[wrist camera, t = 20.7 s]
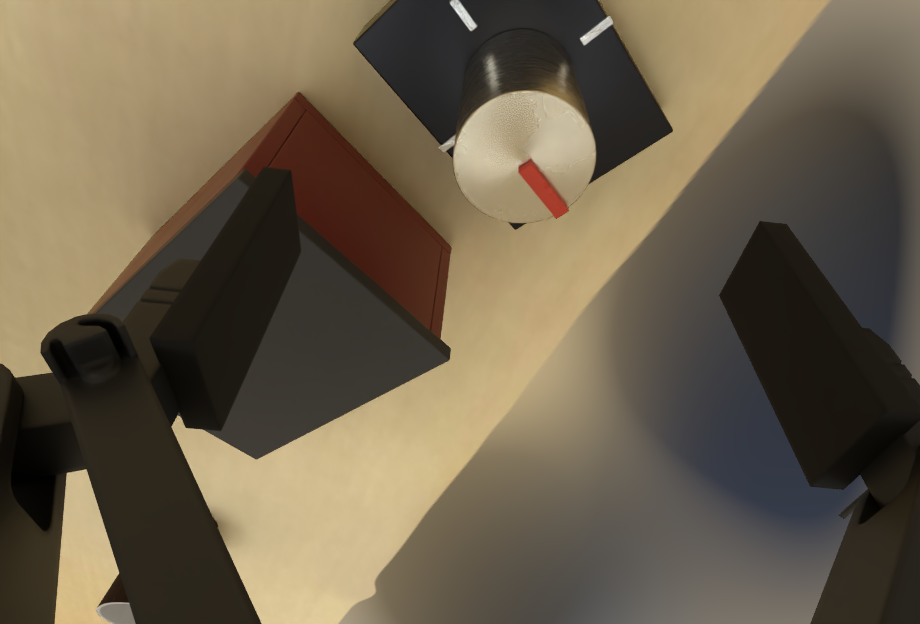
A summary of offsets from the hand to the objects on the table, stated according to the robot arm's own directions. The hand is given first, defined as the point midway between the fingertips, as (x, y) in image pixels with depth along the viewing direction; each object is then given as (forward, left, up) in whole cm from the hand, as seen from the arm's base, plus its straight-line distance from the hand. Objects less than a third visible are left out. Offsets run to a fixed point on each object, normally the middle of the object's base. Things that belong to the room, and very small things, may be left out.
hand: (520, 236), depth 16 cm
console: (0, 0, -14) cm, 14 cm away
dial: (0, 0, -12) cm, 12 cm away
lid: (0, -16, -5) cm, 17 cm away
